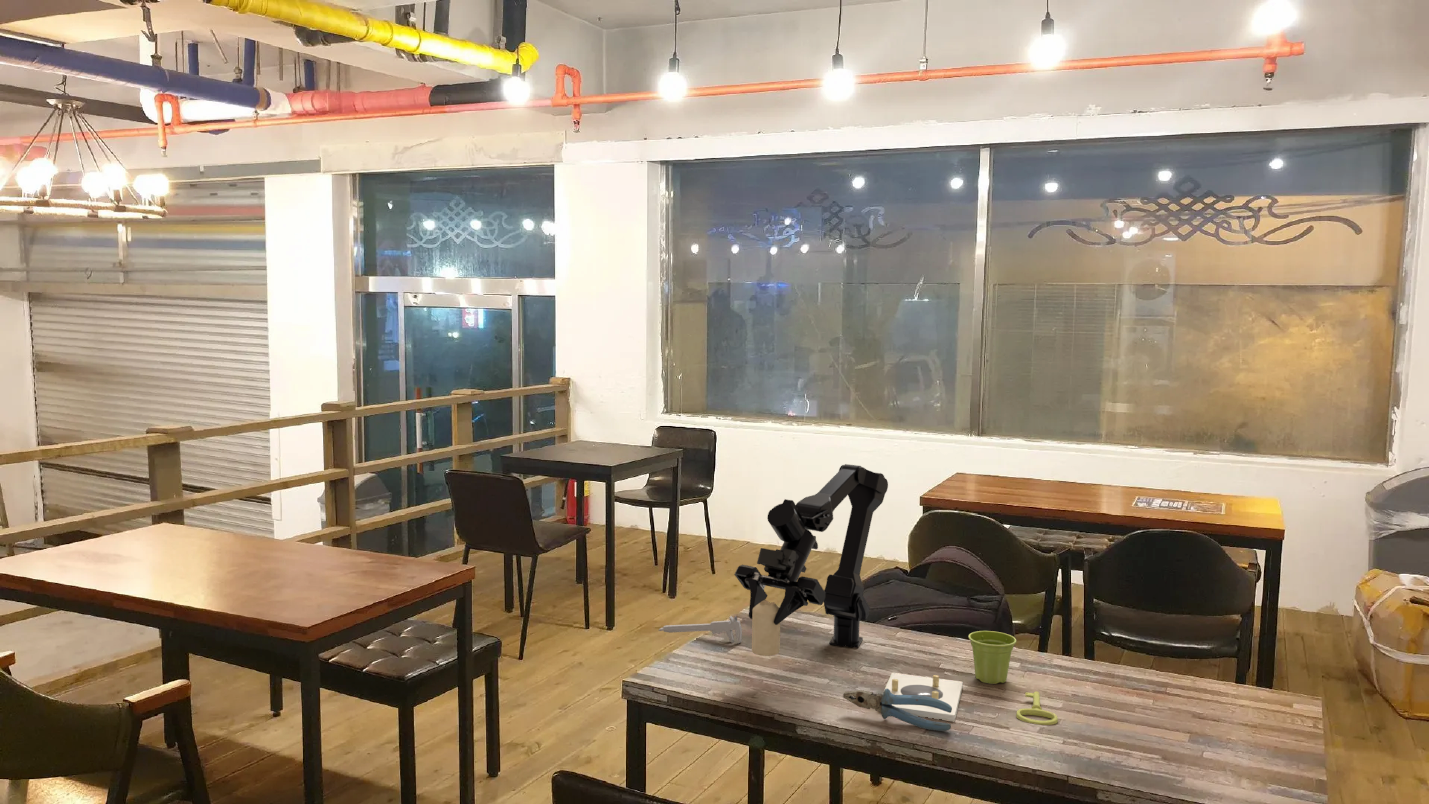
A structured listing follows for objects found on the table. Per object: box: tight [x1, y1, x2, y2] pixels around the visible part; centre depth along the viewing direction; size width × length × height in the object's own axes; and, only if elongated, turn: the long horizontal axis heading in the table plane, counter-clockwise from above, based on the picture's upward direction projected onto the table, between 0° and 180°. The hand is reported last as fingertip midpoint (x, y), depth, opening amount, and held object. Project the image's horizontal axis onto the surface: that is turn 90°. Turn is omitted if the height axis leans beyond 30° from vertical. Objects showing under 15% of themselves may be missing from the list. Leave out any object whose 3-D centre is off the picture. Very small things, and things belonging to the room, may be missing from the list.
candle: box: [751, 599, 781, 657], centre depth 201 cm, size 6×6×10 cm
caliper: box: [658, 615, 743, 644], centre depth 230 cm, size 20×1×6 cm, turn 66°
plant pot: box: [968, 630, 1017, 685], centre depth 207 cm, size 9×9×9 cm
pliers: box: [842, 688, 952, 732], centre depth 184 cm, size 20×2×6 cm, turn 63°
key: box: [1015, 691, 1059, 726], centre depth 190 cm, size 7×12×2 cm, turn 2°
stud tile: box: [884, 672, 964, 723], centre depth 195 cm, size 18×14×3 cm
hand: (762, 620), depth 199 cm, fingers closed on candle, 5 cm apart
